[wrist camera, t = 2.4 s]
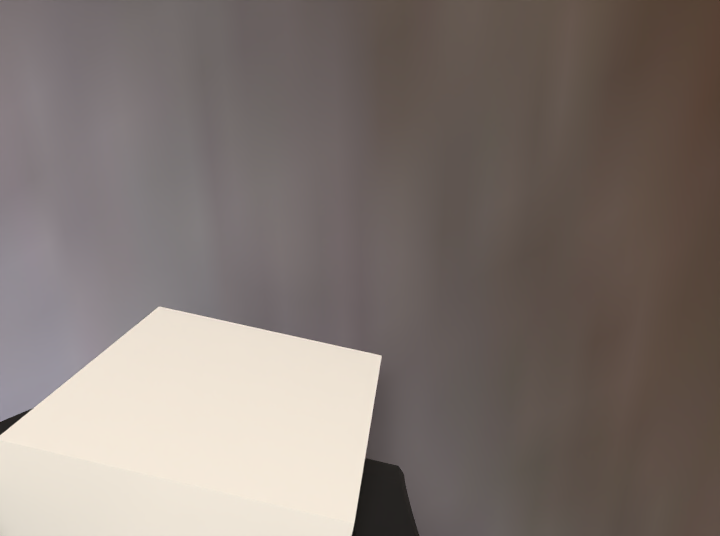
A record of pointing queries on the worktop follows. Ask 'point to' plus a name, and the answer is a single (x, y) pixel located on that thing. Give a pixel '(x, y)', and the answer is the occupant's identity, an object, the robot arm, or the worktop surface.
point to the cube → (195, 437)
